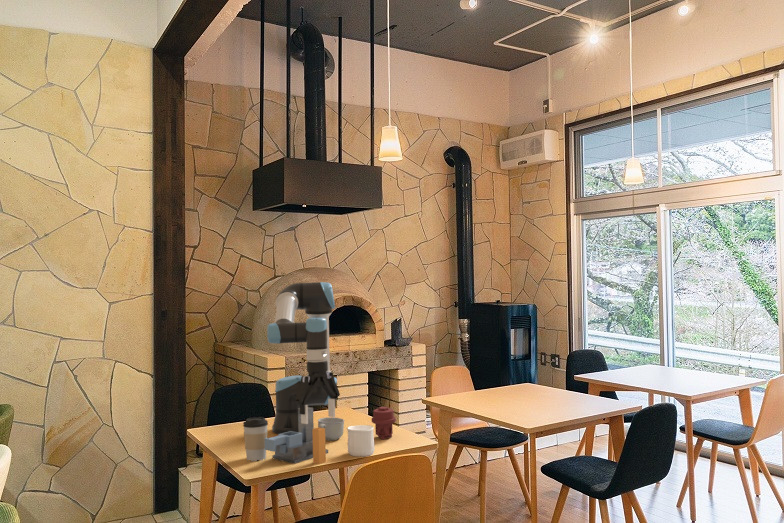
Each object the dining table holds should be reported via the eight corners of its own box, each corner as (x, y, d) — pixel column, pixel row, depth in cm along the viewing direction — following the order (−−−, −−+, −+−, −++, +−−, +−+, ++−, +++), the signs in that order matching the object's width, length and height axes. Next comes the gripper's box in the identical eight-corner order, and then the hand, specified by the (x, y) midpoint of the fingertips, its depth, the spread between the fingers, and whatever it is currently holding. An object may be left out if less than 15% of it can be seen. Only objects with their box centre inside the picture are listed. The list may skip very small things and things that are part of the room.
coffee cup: (245, 455, 241) (244, 415, 241) (270, 454, 241) (269, 414, 242) (242, 462, 232) (241, 421, 232) (267, 461, 232) (266, 420, 233)
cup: (377, 455, 237) (376, 429, 237) (351, 458, 234) (350, 431, 234) (371, 449, 246) (370, 423, 246) (345, 451, 243) (345, 426, 243)
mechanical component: (398, 435, 267) (393, 441, 257) (375, 434, 269) (369, 440, 259) (397, 405, 267) (392, 410, 257) (374, 405, 269) (368, 409, 259)
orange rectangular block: (313, 462, 230) (312, 428, 230) (319, 460, 232) (318, 427, 232) (319, 464, 227) (318, 430, 228) (325, 461, 230) (325, 428, 230)
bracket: (263, 455, 229) (263, 438, 229) (291, 447, 239) (290, 430, 240) (275, 458, 225) (274, 440, 226) (302, 450, 235) (302, 433, 236)
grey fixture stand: (272, 458, 236) (271, 411, 236) (306, 448, 249) (305, 404, 250) (294, 463, 228) (293, 415, 229) (328, 452, 242) (327, 407, 242)
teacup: (330, 434, 271) (329, 415, 271) (349, 437, 264) (349, 418, 264) (307, 441, 259) (307, 422, 259) (327, 445, 253) (327, 425, 253)
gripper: (298, 365, 219) (299, 427, 218) (348, 357, 238) (349, 415, 237) (283, 363, 223) (285, 425, 223) (333, 356, 243) (335, 412, 242)
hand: (318, 420), depth 230 cm, fingers open, 13 cm apart
